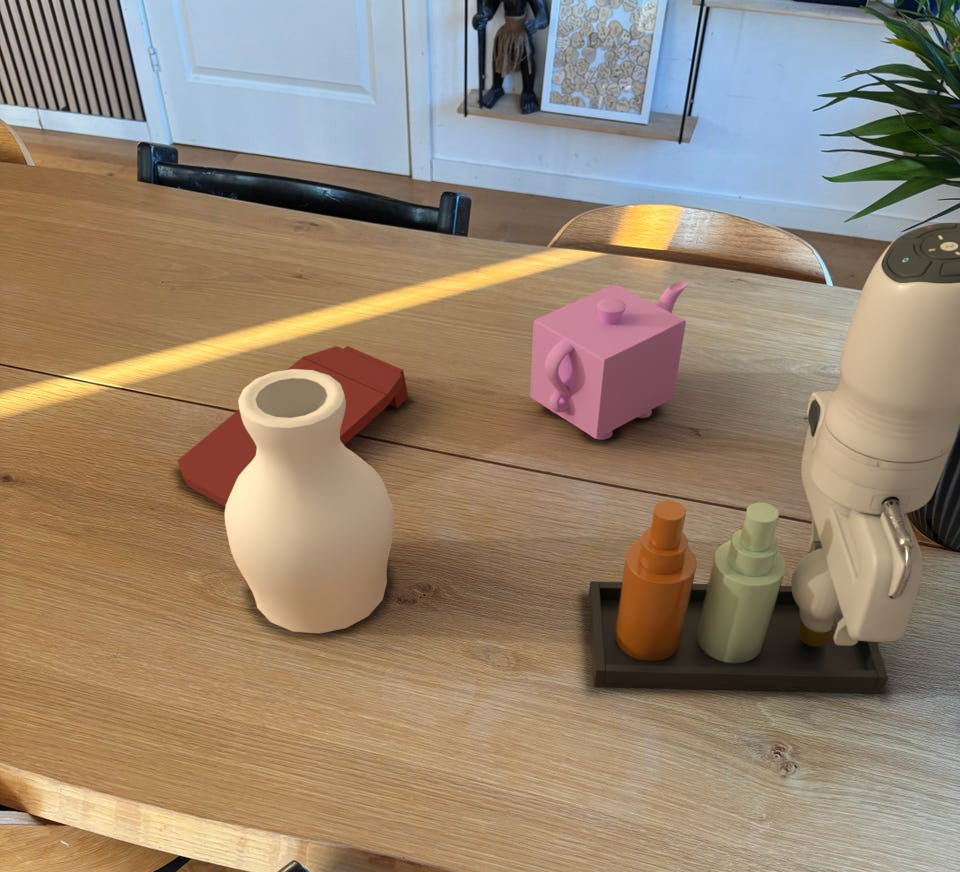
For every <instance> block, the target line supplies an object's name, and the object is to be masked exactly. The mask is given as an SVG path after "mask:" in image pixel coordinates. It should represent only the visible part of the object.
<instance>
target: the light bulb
mask: <svg viewBox="0 0 960 872" xmlns="http://www.w3.org/2000/svg"><path fill="white" fill-rule="evenodd" d="M790 581H791V582H790V583H791V584H790V586H791V589H792V594H793V597H794V600H795V602H796V603H797V605H798V606H799V608H800V617H801V621H800V625H799V630H798V636H799V638H800V639H801V641H802V642H804V643H805V644H807V645H810V646H814V647H819V646H823V645H825V644H827V643H828V641H829V639H830V637H831V635H832V630H831V627H832V626H833V621H834V619H835V617H843V614H842V611H841V608H840V604H839V601H838V598H837V595H836V591H835V588H834V585H833V581H832V578H831V575H830V571H829V568H828V565H827V562H826V558H825V555H824V552H823V548H820V549H817V550H815V551H812V552H811V553H809V552H808V553H807V554H806V555H805V556H804V557H803V558H801V559H800V561H799V562H797V564H796V566H795V568H794V570H793V572H792V577H791V580H790Z"/></svg>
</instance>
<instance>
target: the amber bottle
mask: <svg viewBox="0 0 960 872" xmlns="http://www.w3.org/2000/svg"><path fill="white" fill-rule="evenodd" d="M653 508H654V509H653V513H652V518H651V519H652V520H651V526H650V527H649V528H647V529H646V530H644V531H643V533H642V534H641V539H638V540H636V541H635V542H634V543H632V544H631V545H630V546H629V547H628V549H627V551H626V553H625V558H624V566H623V574H622V581H621V582H622V587H621V594H620V601H619V608H618V615H617V622H616V629H615V639H616V642H617V644H618V646H619V647H620V649H621V650H622V651H624V652H625V653H626V654H628V655H629V656H631V657H633V658H636V659H639V660H643V661H660V660H663V659H666V658H668V657H670V656H672V655H673V654H674V653H675V652H676V651H677V650H678V648H679V646H680V642H681V638H682V633H683V628H684V624H685V619H686V614H687V609H688V605H689V600H690V595H691V591H692V586H693V584H694V580H695V577H696V576H695V575H696V571H697V568H698V567H697V566H698V561H697V557H696V555H695V553H694V552H693V550H692V549H691V548H690V547H689V541H688V538H687V535H686V534H685V533H684V532H683V530H684V524H685V519H686V515H687V509H686V508H685V506H684V505H682V503H680V502H678V501H675V500H669V499H668V500H662V501H659V502H658V503H656V504H655V505H654V507H653Z"/></svg>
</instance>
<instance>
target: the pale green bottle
mask: <svg viewBox="0 0 960 872" xmlns="http://www.w3.org/2000/svg"><path fill="white" fill-rule="evenodd" d="M779 512H780V511H779V510H778V508H777V507H775V505H772V504H770V503H767V502H763V501H762V502H761V501H758V502H754V503H751V504H749V506H747V508H746V511H745V515H744V519H743V524H742V527H741V528H740V529H738V530H736V531H735V532H734V533H733V534H732V536H731V540H728V541H725V542H723V543H722V544H721V545H719V546H718V547H717V549H716V550H715V552H714V555H713V560H712V564H711V568H710V572H709V578H708V580H707V581H708V582H707V584H708V586H707V590H706V594H705V599H704V603H703V608H702V612H701V616H700V621H699V625H698V630H697V640H698V643H699V645H700V647H701V648H702V649H703V651H705V652H706V653H707V654H708V655H709V656H711V657H713V658H715V659H717V660H720V661H723V662H727V663H743V662H747V661H750V660H752V659H754V658H755V657H756V656H757V655H758V654H759V653H760V652H761V650H762V647H763V644H764V641H765V637H766V634H767V631H768V627H769V624H770V621H771V617H772V614H773V611H774V607H775V604H776V601H777V597H778V594H779V591H780V587H781V586H782V584H783V580H784V578H785V574H786V569H787V564H786V560H785V558H784V556H783V555H782V553H781V552H779V542H778V539H777V538H776V536H775V531H776V528H777V525H778V521H779V518H780V513H779Z"/></svg>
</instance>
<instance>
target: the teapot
mask: <svg viewBox="0 0 960 872" xmlns="http://www.w3.org/2000/svg"><path fill="white" fill-rule="evenodd" d="M687 286H688V282H686V281H678V282H675V283H673V284H671V285H670V286H668V287H667V288H666V289H665V290H664V292H663V293H662V294H661V296H660V297H659V299H658V301H657V302H656V303H653V302H651V301H649V300H648V299H645V298H644V297H641V296H639V295H637V294H636V293H633V292H631V291H629V290H627V289H625V288H623V287H622V286H620V285H618V284H615V283H614V284H612V285H610V286H607V287H605V288H602V289H599V290H598V291H595V292H594V293H591V294H589V295H587V296H585V297H582V298H580V299H578V300H575V301H573V302H571V303H569V304H566V305H564V306H562V307H559V308H558V309H555V310H553V311H551V312H549V313H546V314H545V315H542V316H540V317H537V318H536V319H534V321H533V324H532V326H533V327H532V344H531V345H532V347H531V370H530V391H529V392H530V393H529V397H530V398H531V399H532V400H534V401H535V402H537V403H539V404H540V405H542V406H543V407H545V408H546V409H548V410H550V411H551V412H552V413H554V414H556V415H558V416H559V417H561V418H562V419H564V420H565V421H567V422H568V423H570V424H572V425H573V426H575V427H576V428H578V429H580V430H581V431H583V432H585V433H586V434H588V435H589V436H590V437H591V438H593V439H596V440H601V441H603V440H608V439H609V438H611V437H612V436H613V433H614V432H613V431H614V430H615V429H618V428H619V427H622V426H623V425H625V424H627V423H629V422H631V421H632V420H634V419H636V418H637V419H645V418H649V417H650V416H652V413H653V412H652V409H655V408H657V407H658V406H660V405H662V404H664V403H666V402H668V401H669V400H671V399H673V398H675V397H674V396H675V390H676V384H677V380H678V372H679V368H680V360H681V356H682V355H681V354H682V348H683V343H684V336H685V329H686V324H687V320H686V319H684V318H681V317H680V316H678V315H676V314H674V313H673V311H674V307H675V304H676V302H677V300H678V299H679V296H680V295H681V293H683V291H684V290H685V289H686V288H687Z"/></svg>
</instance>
